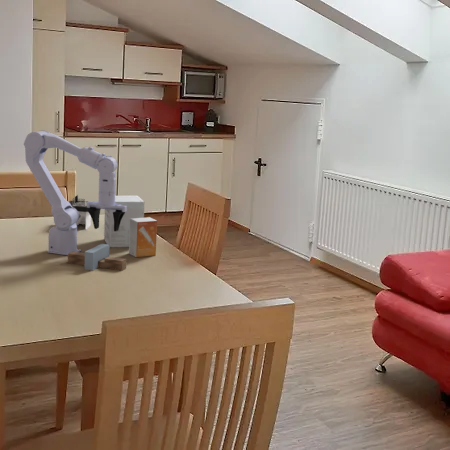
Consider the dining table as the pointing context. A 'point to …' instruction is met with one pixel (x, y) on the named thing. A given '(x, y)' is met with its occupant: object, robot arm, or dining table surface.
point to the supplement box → (133, 211)
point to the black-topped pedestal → (81, 211)
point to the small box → (142, 237)
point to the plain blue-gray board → (95, 256)
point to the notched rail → (104, 263)
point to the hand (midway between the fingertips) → (106, 229)
